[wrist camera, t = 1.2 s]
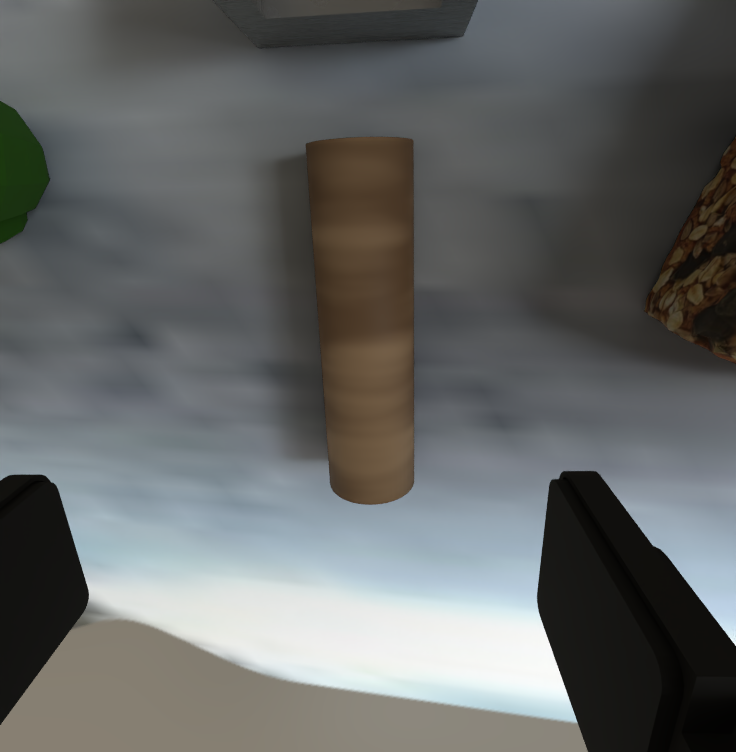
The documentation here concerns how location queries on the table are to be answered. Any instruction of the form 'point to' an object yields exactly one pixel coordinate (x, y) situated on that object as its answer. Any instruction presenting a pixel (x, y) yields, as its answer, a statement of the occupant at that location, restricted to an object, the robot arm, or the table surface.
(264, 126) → the table surface
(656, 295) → the bread
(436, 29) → the saddle bracket
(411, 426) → the brown cylinder
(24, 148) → the bell pepper
